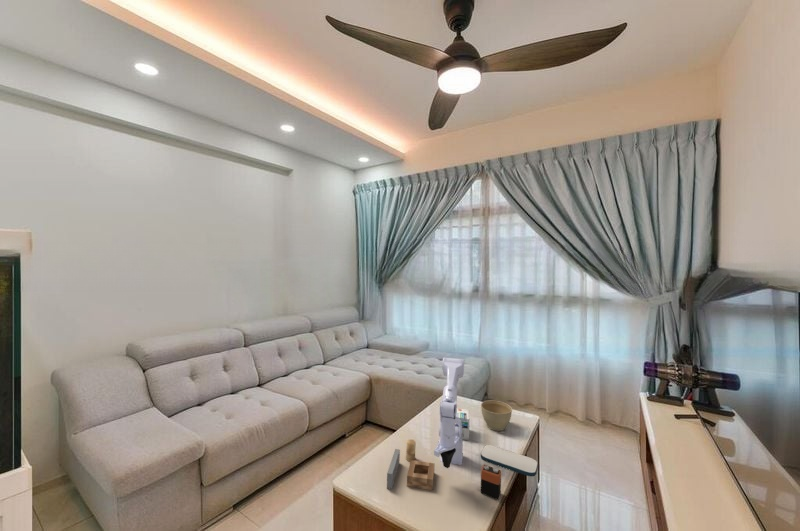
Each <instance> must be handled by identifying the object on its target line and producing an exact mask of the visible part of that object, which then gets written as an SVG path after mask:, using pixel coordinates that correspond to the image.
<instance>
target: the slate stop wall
mask: <svg viewBox="0 0 800 531" xmlns="http://www.w3.org/2000/svg"><path fill="white" fill-rule="evenodd" d="M400 453H401V449H399V448H398V449H397V448H395V449H394V451H393V454H392V457H391V461H390V464H389V466H388V470H387V472H386V490H387V489H388V490H393V486H394V482H395V480H396V478H397V477H396V476H397V473H398V469H399V466H400V458H401V456H400V455H401V454H400Z"/></svg>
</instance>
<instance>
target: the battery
mask: <svg viewBox="0 0 800 531" xmlns="http://www.w3.org/2000/svg"><path fill="white" fill-rule="evenodd" d="M501 489H502V470H501V469H499V468H498V467H496V466H495V467H493V466H490V465H488V464H483V466H482V468H481V473H480V493H481V494H482V495H485V496H487V497H490V498H492V499H495V500H499V499H500V496H501V493H502V492H501V491H502V490H501Z"/></svg>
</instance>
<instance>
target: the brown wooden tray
mask: <svg viewBox="0 0 800 531" xmlns="http://www.w3.org/2000/svg"><path fill="white" fill-rule="evenodd" d="M407 470H408V471H407V473H406V487H409V488H417V489H423V490H429V491H433V489H434V478H435V463H434V462H427V461H421V460H416V459H415V460H411V461H410V462H409V467H408V469H407Z"/></svg>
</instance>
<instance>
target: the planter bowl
mask: <svg viewBox="0 0 800 531" xmlns="http://www.w3.org/2000/svg"><path fill="white" fill-rule="evenodd" d="M480 407H481V415H482V418H483V420H484V421H485V423H486V426H487V428H489V429H490V430H491V431H492V430H493V431H497V432H499V431H500V432H502V431H504V430H505V429H506V427H507V426H508V425H509V423H510V421H511V418H512V412H513V408H512V406H510V405H509V404H508V403H506V402H504V401H500V400H499V401H498V400H485V401H482V402H481V404H480Z"/></svg>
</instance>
